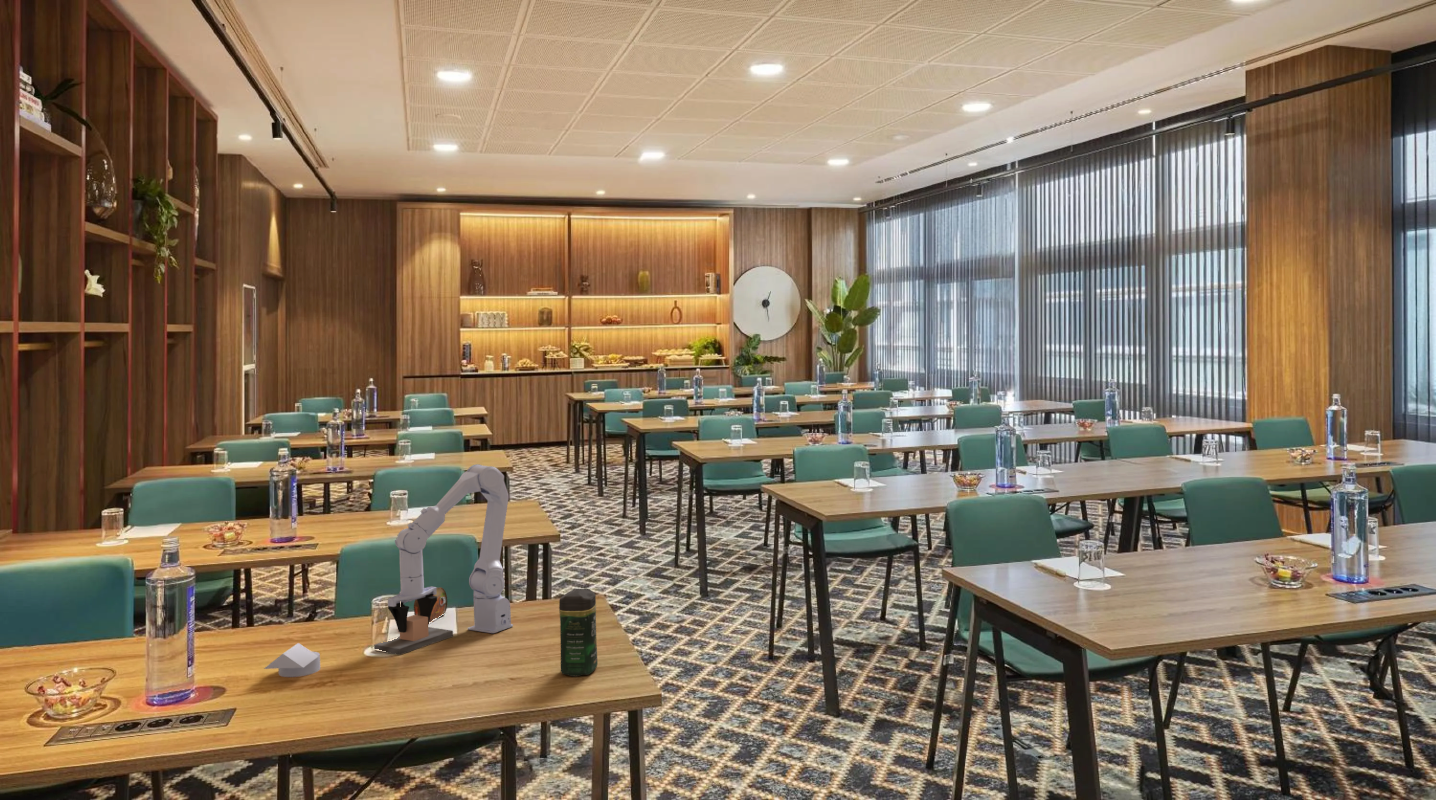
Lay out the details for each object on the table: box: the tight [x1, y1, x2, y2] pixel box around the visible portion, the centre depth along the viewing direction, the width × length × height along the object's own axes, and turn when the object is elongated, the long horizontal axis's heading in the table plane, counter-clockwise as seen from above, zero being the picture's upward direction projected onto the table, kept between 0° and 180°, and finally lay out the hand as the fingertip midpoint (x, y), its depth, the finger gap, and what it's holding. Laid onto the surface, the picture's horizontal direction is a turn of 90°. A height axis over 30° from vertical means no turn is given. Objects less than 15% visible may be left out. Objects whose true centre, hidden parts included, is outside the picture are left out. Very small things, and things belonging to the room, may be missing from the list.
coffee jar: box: [558, 588, 598, 677], centre depth 223 cm, size 10×8×19 cm
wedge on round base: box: [263, 642, 321, 678], centre depth 227 cm, size 9×7×13 cm
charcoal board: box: [373, 626, 454, 656], centre depth 250 cm, size 9×18×2 cm, turn 150°
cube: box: [399, 614, 429, 641], centre depth 249 cm, size 5×5×5 cm
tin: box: [413, 586, 448, 622], centre depth 273 cm, size 15×3×8 cm, turn 168°
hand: (414, 628), depth 249 cm, fingers open, 7 cm apart
